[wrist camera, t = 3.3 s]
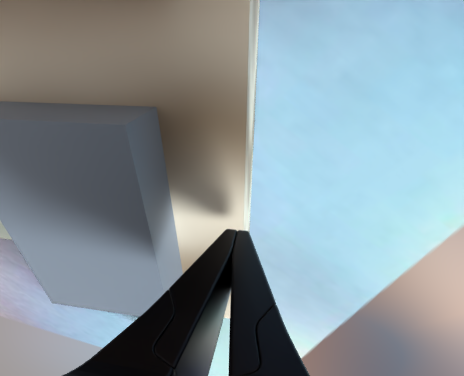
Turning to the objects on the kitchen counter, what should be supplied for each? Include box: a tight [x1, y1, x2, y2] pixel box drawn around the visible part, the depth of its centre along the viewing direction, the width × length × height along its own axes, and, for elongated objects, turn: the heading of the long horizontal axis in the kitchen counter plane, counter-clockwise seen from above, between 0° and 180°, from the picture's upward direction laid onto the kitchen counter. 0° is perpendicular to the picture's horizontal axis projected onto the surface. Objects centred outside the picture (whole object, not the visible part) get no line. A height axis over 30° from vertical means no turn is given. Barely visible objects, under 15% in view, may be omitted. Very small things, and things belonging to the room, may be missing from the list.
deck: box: [0, 0, 260, 318], centre depth 11 cm, size 20×12×4 cm, turn 0°
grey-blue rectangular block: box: [0, 101, 183, 317], centre depth 10 cm, size 9×6×2 cm, turn 0°
